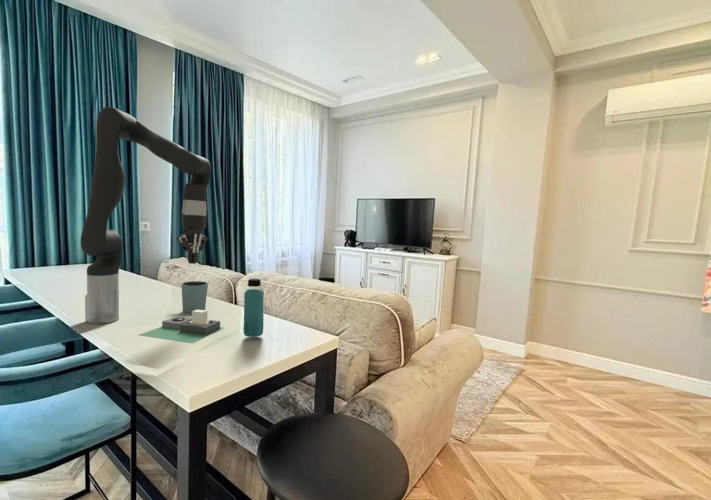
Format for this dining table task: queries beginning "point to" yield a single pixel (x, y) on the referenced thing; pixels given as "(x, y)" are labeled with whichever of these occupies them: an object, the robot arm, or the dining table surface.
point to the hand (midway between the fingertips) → (192, 263)
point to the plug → (199, 318)
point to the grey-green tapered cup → (194, 296)
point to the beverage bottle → (253, 309)
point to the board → (183, 330)
